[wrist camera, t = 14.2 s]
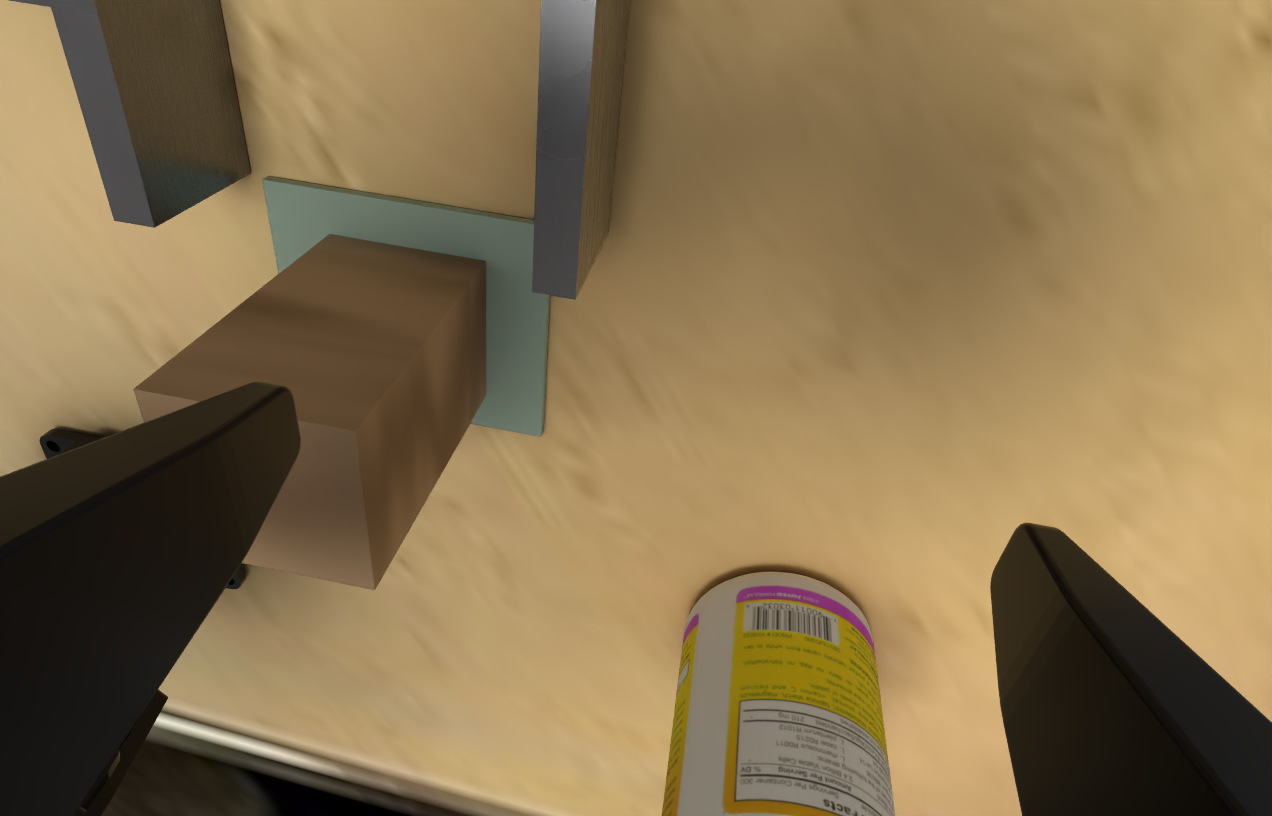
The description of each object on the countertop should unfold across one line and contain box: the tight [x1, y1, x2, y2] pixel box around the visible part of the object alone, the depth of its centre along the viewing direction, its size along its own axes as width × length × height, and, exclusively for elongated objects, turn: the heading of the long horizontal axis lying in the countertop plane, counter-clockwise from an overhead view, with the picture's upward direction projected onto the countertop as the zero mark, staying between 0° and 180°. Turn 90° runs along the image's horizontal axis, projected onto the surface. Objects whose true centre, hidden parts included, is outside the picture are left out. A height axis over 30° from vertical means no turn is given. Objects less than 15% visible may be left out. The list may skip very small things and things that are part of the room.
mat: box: [262, 176, 550, 437], centre depth 23 cm, size 7×8×1 cm
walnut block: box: [134, 234, 486, 590], centre depth 20 cm, size 4×4×8 cm
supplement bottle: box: [662, 572, 895, 816], centre depth 23 cm, size 7×7×13 cm
